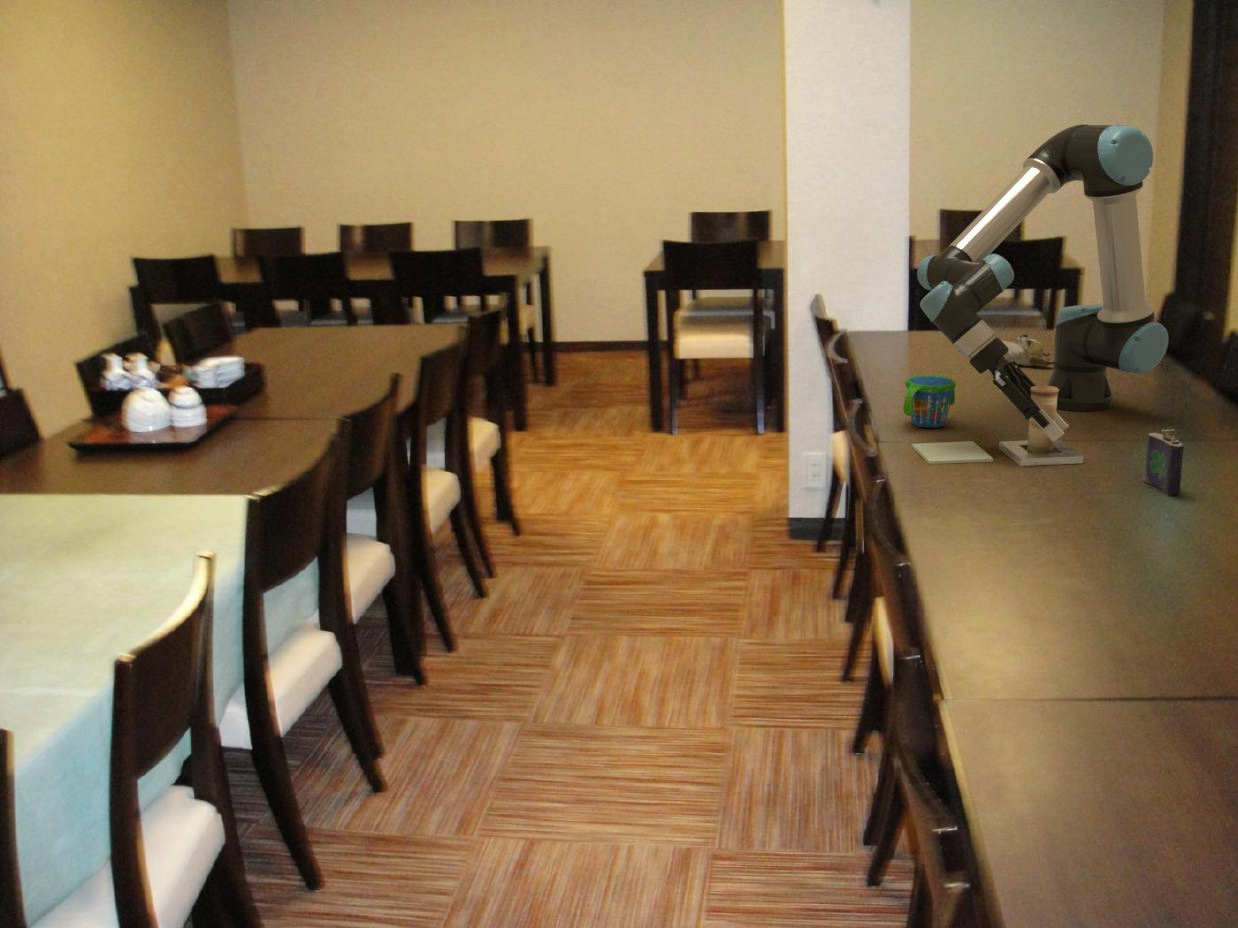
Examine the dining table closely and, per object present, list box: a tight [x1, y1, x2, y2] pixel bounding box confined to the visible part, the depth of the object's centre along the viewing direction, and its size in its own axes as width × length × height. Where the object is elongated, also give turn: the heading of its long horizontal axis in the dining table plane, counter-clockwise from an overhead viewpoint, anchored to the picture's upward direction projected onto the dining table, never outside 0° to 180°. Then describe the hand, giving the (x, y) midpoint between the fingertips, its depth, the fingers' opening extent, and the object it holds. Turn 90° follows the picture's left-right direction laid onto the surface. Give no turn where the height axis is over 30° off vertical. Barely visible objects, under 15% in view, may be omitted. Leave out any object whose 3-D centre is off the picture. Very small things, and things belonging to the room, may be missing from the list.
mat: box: [911, 440, 994, 465], centre depth 263 cm, size 13×13×1 cm
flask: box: [1143, 428, 1185, 498], centre depth 236 cm, size 10×3×12 cm, turn 8°
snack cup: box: [902, 375, 957, 429], centre depth 284 cm, size 16×10×10 cm
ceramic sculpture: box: [1000, 334, 1054, 367], centre depth 339 cm, size 11×9×15 cm
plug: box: [1027, 385, 1059, 454], centre depth 258 cm, size 5×5×14 cm
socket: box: [998, 438, 1084, 467], centre depth 260 cm, size 13×13×2 cm
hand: (1060, 433), depth 257 cm, fingers closed on plug, 5 cm apart
